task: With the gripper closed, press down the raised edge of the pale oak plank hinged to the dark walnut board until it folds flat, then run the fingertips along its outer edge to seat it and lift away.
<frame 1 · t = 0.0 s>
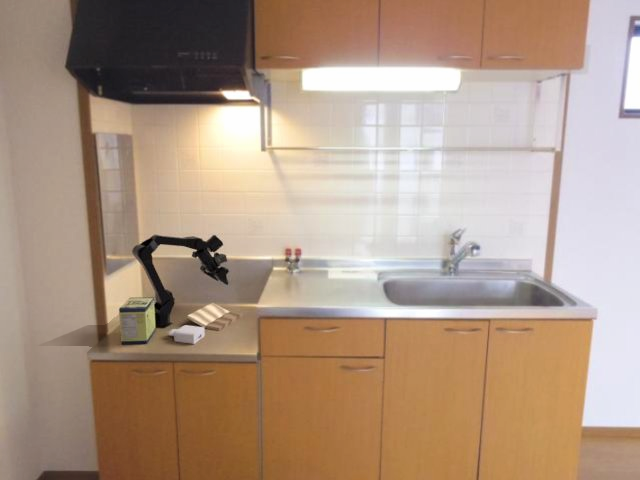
hand: (222, 282, 229), 15 cm above the table, tool tilted 35°, fingers open, 9 cm apart
oak plank: (208, 314, 218), point 3 cm above the table, hinge at 20.0°
walnut board: (225, 322, 216), on the table
protein box: (139, 337, 198), on the table
charger: (183, 339, 197), on the table
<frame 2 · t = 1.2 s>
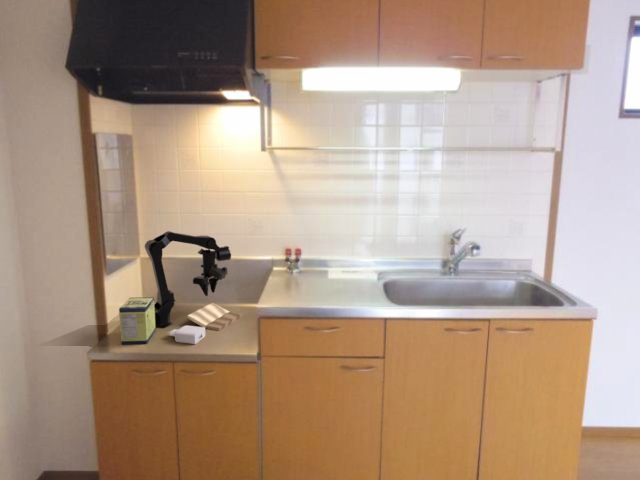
hand: (209, 294, 222), 11 cm above the table, tool pointing down, fingers open, 5 cm apart
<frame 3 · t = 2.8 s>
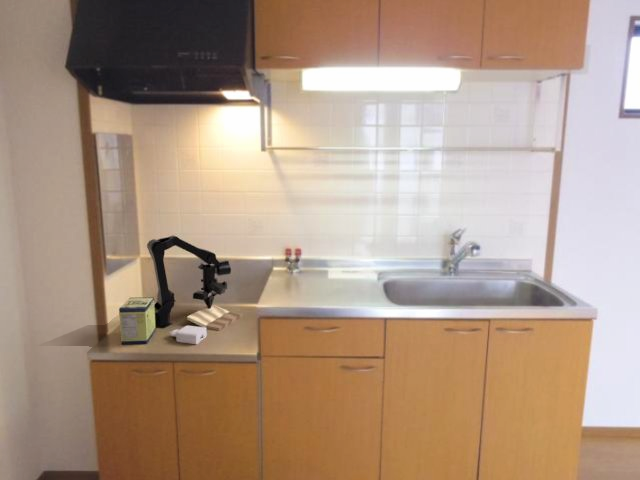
hand: (209, 308, 224), 4 cm above the table, tool pointing down, fingers closed, pressing on oak plank
oak plank: (208, 315, 219), point 2 cm above the table, hinge at 16.1°, touching gripper
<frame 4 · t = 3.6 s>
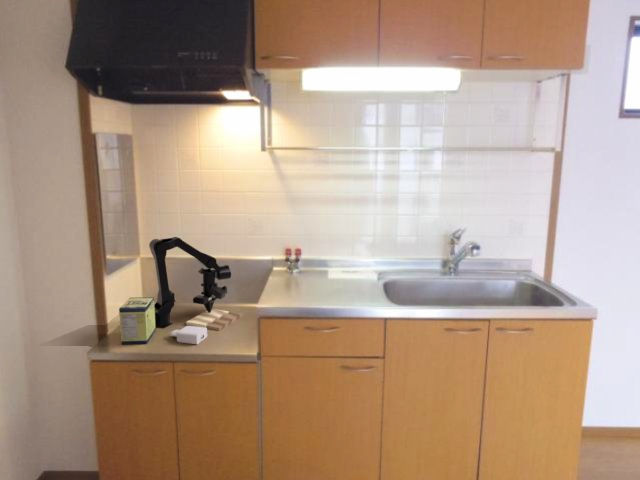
hand: (209, 312, 224), 2 cm above the table, tool pointing down, fingers closed, pressing on oak plank
oak plank: (208, 317, 219), point 1 cm above the table, hinge at 0.6°, touching gripper
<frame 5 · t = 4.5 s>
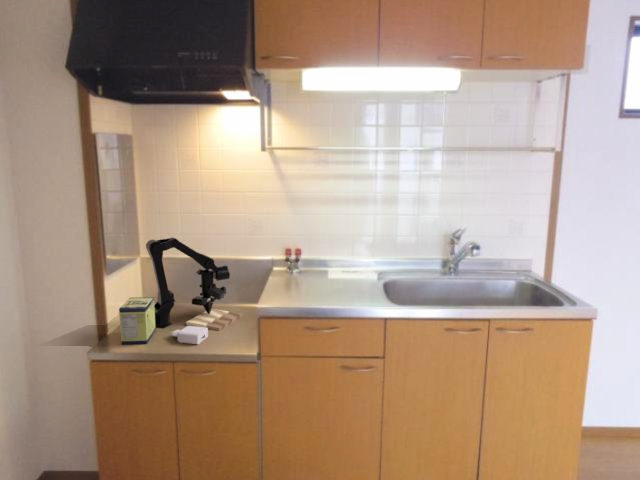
hand: (208, 313, 223), 2 cm above the table, tool pointing down, fingers closed, pressing on oak plank
oak plank: (208, 317, 219), point 1 cm above the table, hinge at 0.4°, touching gripper
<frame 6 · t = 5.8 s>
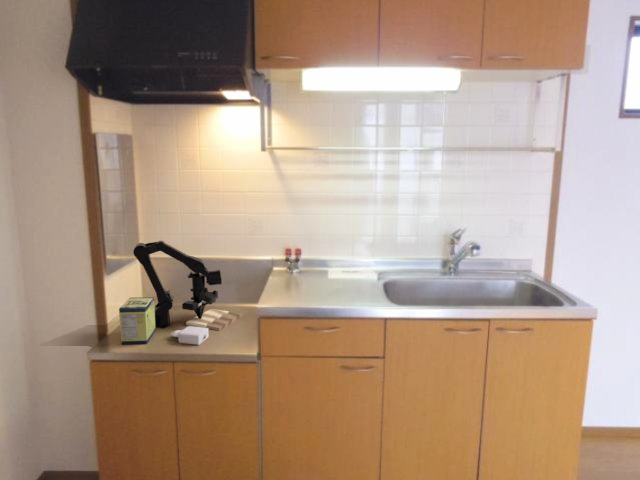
hand: (200, 318, 216), 2 cm above the table, tool pointing down, fingers closed
oak plank: (208, 318, 219), point 1 cm above the table, hinge at -0.1°, touching gripper
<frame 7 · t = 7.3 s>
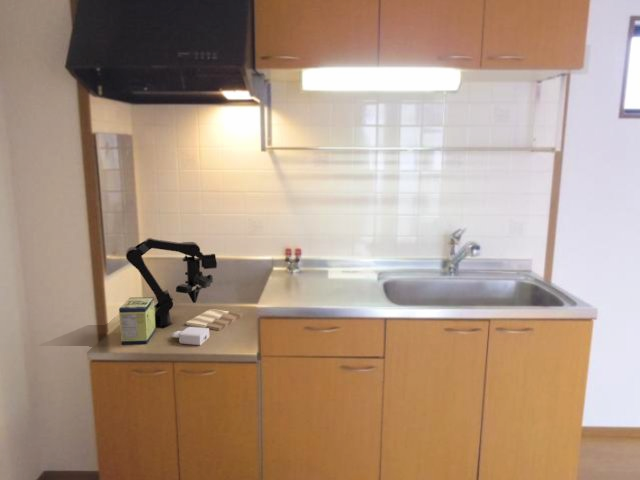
hand: (194, 302, 215), 9 cm above the table, tool pointing down, fingers closed
oak plank: (208, 318, 219), point 1 cm above the table, hinge at -0.1°
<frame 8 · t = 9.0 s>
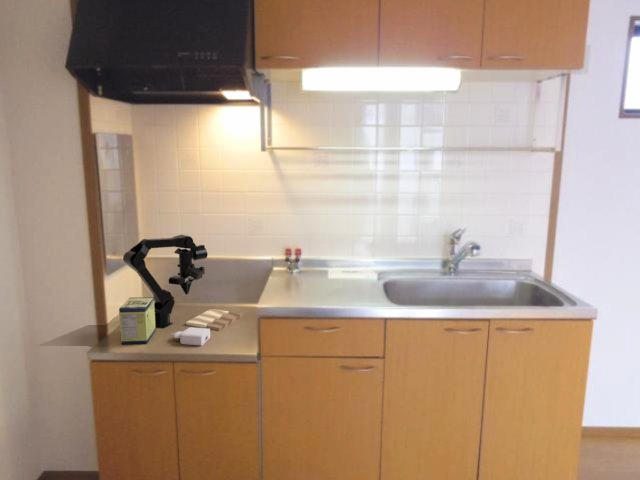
hand: (186, 294, 219), 12 cm above the table, tool pointing down, fingers closed
at the end: oak plank at +0° (first picture: +20°) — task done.
